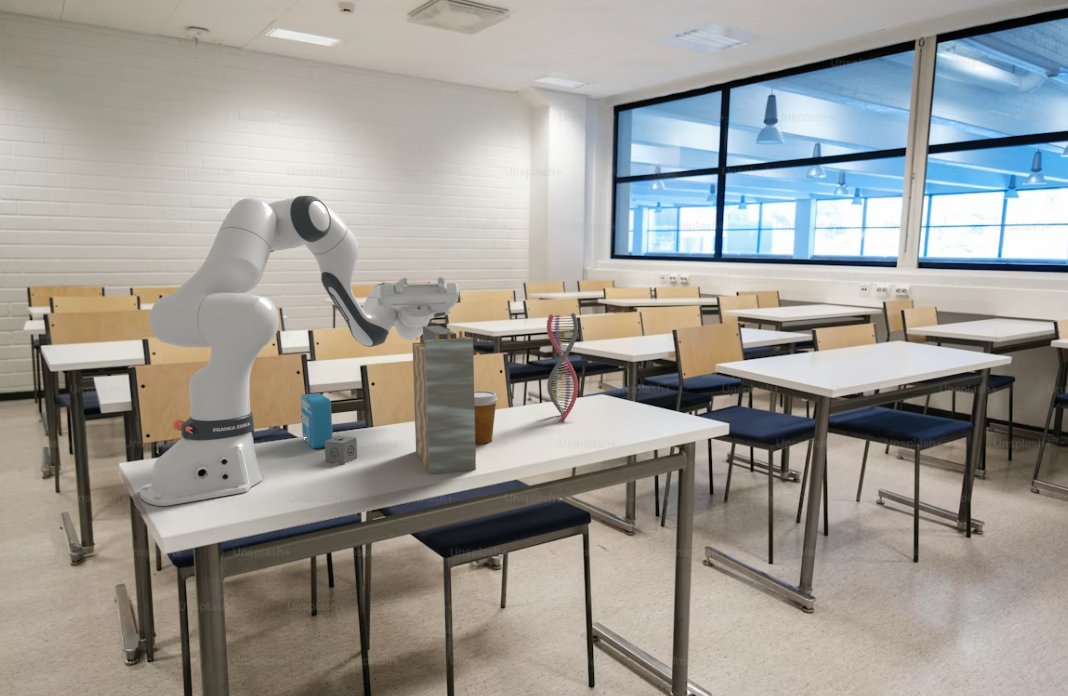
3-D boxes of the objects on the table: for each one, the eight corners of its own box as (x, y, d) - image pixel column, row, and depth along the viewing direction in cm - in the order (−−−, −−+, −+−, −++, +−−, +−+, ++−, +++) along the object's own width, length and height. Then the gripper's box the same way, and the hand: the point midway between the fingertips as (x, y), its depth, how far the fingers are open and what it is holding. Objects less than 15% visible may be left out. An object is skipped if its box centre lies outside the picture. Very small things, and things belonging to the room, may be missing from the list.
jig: (415, 451, 166) (411, 325, 162) (457, 447, 169) (454, 323, 165) (429, 474, 148) (425, 333, 144) (475, 469, 151) (472, 331, 147)
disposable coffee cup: (499, 436, 179) (499, 390, 178) (496, 446, 170) (495, 397, 169) (463, 436, 180) (461, 390, 178) (457, 446, 170) (456, 397, 169)
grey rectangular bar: (423, 340, 167) (422, 326, 166) (439, 340, 168) (439, 325, 167) (438, 350, 148) (437, 334, 147) (456, 349, 149) (456, 333, 148)
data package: (302, 439, 178) (300, 393, 177) (320, 437, 180) (318, 391, 179) (314, 450, 168) (312, 401, 166) (333, 447, 170) (331, 399, 169)
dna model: (546, 421, 195) (546, 314, 192) (547, 414, 204) (546, 312, 200) (578, 421, 195) (578, 314, 191) (578, 414, 204) (577, 312, 200)
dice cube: (325, 462, 158) (324, 441, 157) (338, 456, 162) (337, 435, 162) (344, 464, 156) (343, 442, 155) (357, 458, 160) (356, 437, 160)
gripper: (376, 295, 185) (379, 269, 173) (452, 293, 191) (460, 268, 179) (377, 316, 183) (381, 292, 171) (454, 314, 189) (463, 290, 177)
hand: (423, 280), depth 175 cm, fingers open, 8 cm apart
